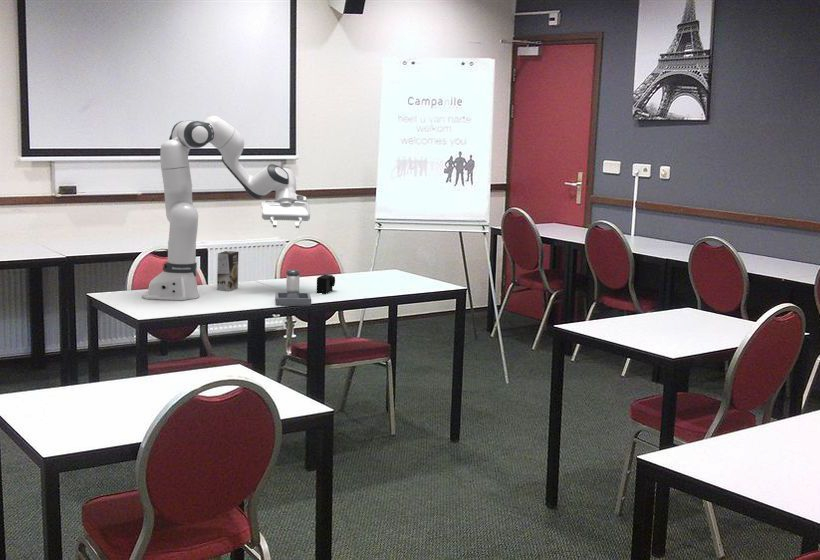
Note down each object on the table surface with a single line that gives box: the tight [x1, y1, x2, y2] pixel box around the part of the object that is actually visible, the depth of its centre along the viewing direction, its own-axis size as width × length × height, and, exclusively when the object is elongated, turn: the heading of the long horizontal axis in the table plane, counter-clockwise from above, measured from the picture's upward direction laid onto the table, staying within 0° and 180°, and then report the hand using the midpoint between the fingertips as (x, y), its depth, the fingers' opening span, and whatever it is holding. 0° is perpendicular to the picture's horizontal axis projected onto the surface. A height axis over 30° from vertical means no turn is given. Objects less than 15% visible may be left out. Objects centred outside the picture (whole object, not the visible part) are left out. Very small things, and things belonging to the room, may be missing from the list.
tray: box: [274, 291, 312, 307], centre depth 390 cm, size 14×14×3 cm
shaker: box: [285, 269, 301, 298], centre depth 389 cm, size 5×5×13 cm
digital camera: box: [316, 274, 336, 295], centre depth 418 cm, size 10×5×7 cm, turn 169°
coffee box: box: [216, 250, 239, 292], centre depth 414 cm, size 9×6×16 cm
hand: (286, 226), depth 400 cm, fingers open, 8 cm apart
